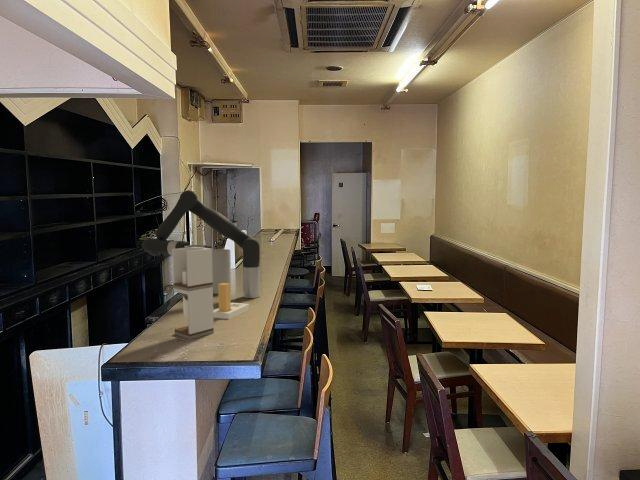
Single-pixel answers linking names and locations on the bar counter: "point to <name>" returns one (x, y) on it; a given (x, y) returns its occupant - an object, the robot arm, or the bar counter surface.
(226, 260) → the cylinder vase
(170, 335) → the bar counter surface
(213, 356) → the bar counter surface
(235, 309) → the white socket board
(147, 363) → the bar counter surface
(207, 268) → the white tower
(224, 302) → the plug
